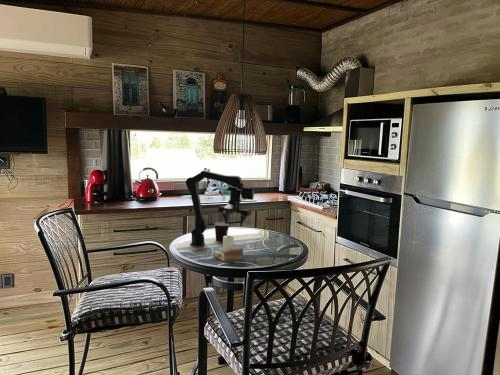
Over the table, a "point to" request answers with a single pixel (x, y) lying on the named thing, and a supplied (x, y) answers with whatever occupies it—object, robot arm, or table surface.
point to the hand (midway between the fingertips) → (233, 225)
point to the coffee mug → (221, 231)
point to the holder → (229, 255)
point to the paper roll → (227, 243)
